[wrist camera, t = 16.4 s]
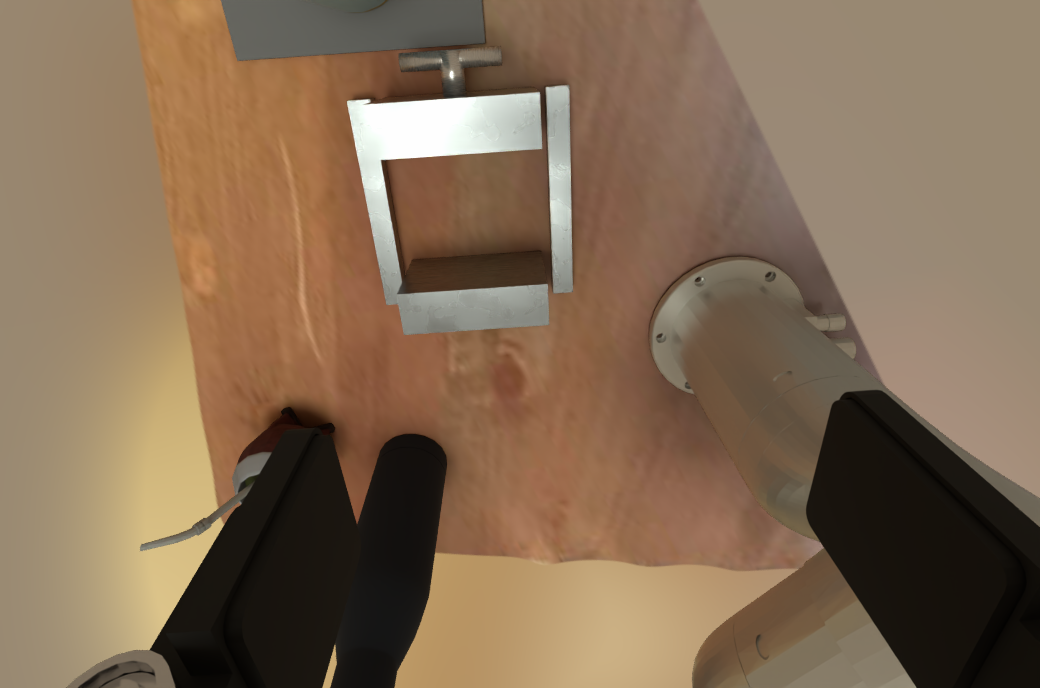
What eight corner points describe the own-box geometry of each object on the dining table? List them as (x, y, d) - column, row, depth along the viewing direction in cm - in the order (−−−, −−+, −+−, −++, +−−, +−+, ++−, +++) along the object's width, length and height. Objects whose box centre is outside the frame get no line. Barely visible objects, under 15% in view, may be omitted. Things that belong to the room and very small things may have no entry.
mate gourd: (354, 453, 50) (301, 594, 37) (278, 474, 51) (200, 618, 38) (317, 389, 47) (245, 519, 34) (236, 413, 48) (135, 547, 35)
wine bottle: (449, 436, 50) (388, 865, 23) (445, 488, 53) (386, 922, 26) (378, 430, 49) (235, 863, 23) (378, 483, 52) (251, 921, 26)
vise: (565, 43, 35) (579, 39, 29) (570, 284, 43) (582, 322, 37) (344, 58, 35) (311, 58, 29) (390, 297, 43) (371, 337, 37)
